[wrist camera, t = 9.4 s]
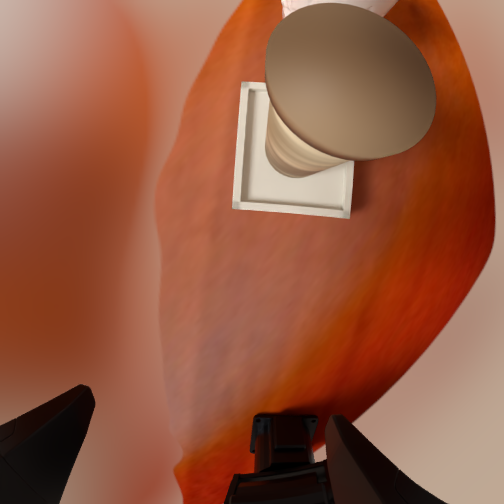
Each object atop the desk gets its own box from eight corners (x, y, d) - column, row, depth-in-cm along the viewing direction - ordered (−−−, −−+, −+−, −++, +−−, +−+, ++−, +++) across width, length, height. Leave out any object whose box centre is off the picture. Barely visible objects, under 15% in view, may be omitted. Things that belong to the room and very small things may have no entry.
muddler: (335, 173, 18) (455, 145, 6) (272, 188, 19) (297, 174, 6) (317, 111, 17) (396, 5, 5) (254, 125, 18) (243, 12, 5)
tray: (342, 216, 20) (349, 218, 18) (234, 207, 20) (232, 208, 18) (348, 102, 18) (355, 95, 16) (243, 90, 18) (241, 81, 17)
